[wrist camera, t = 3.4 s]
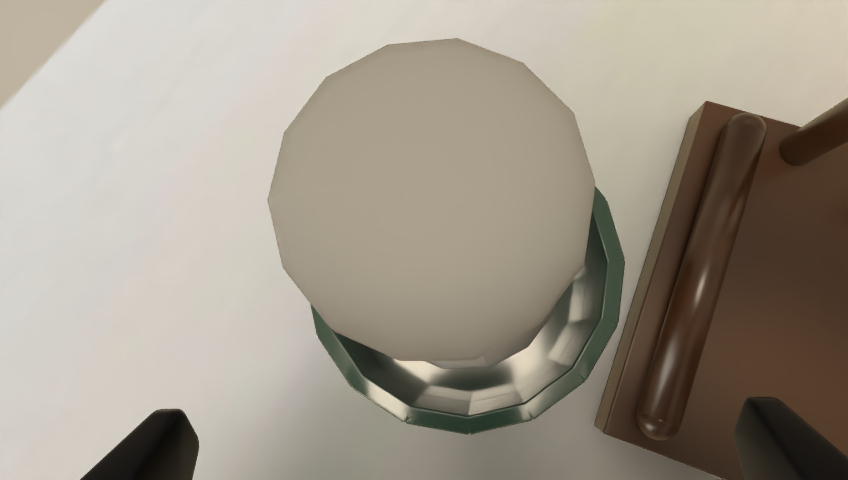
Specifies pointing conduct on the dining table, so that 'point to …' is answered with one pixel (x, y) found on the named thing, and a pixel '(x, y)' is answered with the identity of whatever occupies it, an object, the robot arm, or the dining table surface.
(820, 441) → the robot arm
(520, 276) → the salt shaker
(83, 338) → the dining table surface
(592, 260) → the holder
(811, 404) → the rack
